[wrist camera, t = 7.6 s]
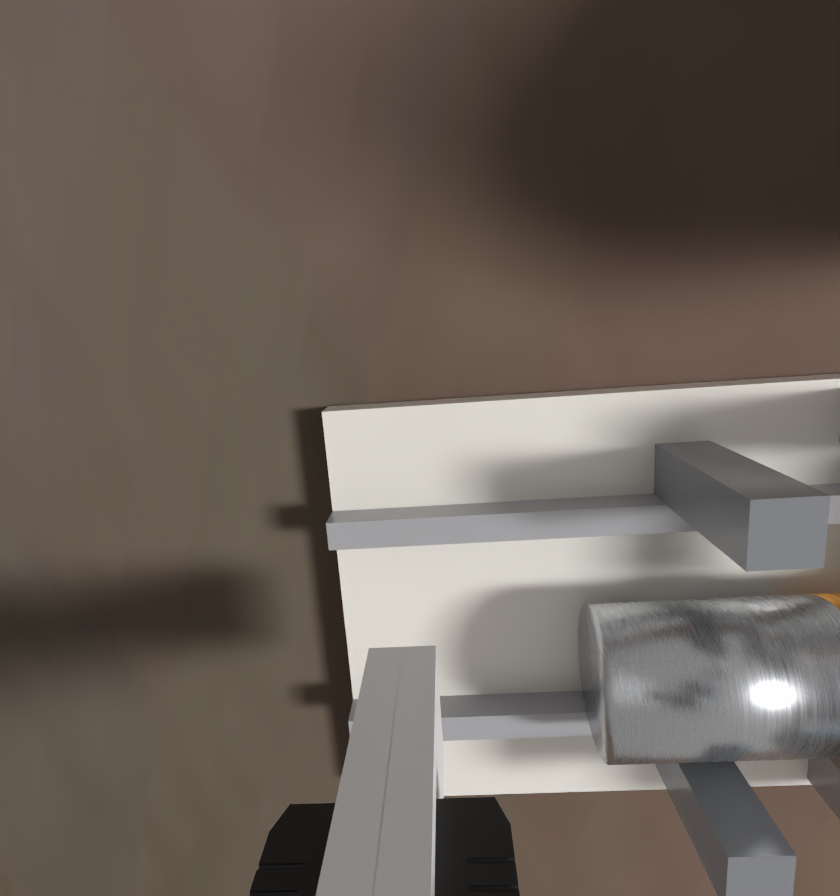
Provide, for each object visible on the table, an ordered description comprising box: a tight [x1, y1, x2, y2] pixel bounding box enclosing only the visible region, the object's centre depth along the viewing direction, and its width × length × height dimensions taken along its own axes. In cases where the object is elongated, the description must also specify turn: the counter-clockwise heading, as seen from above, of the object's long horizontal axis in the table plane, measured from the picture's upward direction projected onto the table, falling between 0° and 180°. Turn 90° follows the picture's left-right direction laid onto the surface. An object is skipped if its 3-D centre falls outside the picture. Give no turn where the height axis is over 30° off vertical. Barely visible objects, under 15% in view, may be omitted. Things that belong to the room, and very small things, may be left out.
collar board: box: [322, 373, 840, 896], centre depth 14 cm, size 13×24×7 cm, turn 94°
